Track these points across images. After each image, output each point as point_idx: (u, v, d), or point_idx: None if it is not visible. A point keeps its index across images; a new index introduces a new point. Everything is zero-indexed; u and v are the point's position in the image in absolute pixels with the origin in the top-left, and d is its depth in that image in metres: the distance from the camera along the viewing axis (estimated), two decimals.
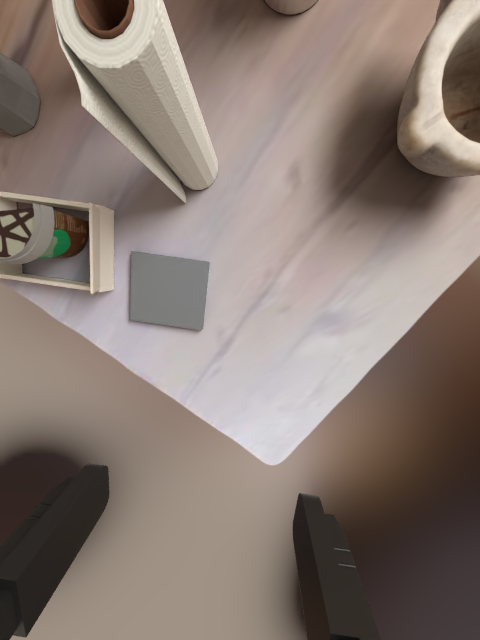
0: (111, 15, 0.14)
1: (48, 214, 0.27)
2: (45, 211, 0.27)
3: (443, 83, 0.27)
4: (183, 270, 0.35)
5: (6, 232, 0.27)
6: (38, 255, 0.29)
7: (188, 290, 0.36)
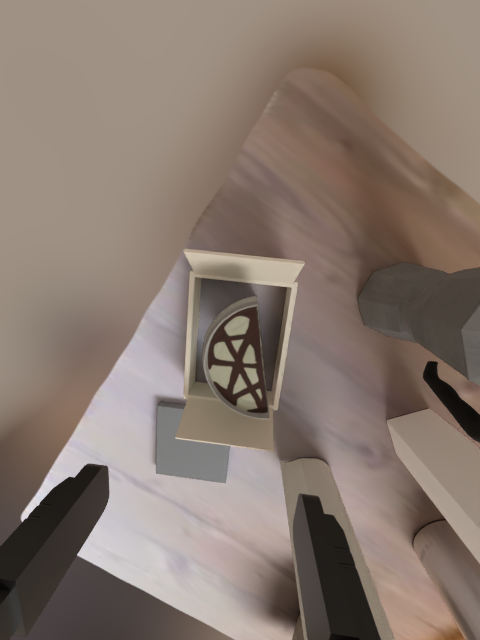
0: None
1: None
2: None
3: None
4: (216, 461, 0.34)
5: (238, 369, 0.22)
6: None
7: (196, 464, 0.35)
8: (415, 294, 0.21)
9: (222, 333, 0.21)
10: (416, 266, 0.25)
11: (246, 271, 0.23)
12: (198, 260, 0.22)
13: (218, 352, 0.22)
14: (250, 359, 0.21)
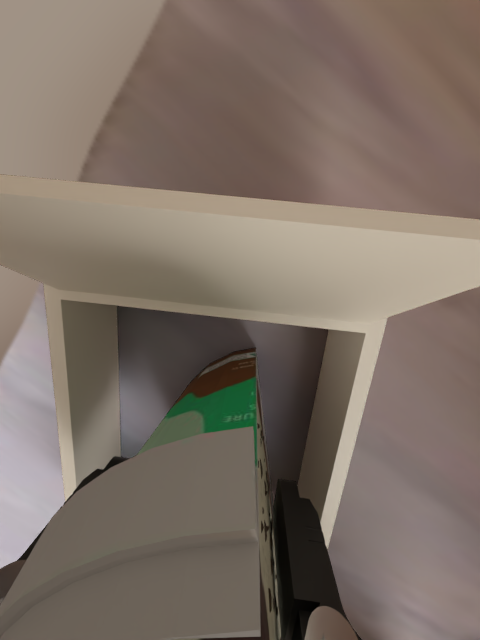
0: None
1: None
2: None
3: None
4: None
5: None
6: None
7: None
8: None
9: None
10: None
11: (211, 286, 0.06)
12: None
13: None
14: None
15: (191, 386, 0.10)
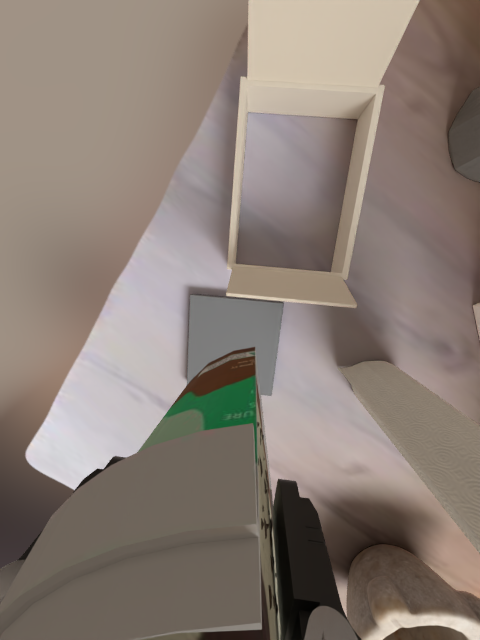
0: None
1: None
2: None
3: None
4: (260, 367, 0.28)
5: None
6: None
7: None
8: None
9: None
10: None
11: (324, 50, 0.17)
12: (263, 19, 0.16)
13: None
14: None
15: (191, 385, 0.10)
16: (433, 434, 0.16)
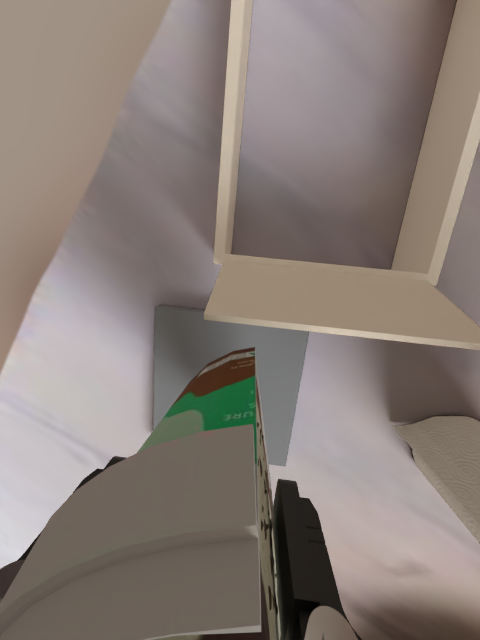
0: None
1: None
2: None
3: None
4: (269, 424, 0.18)
5: None
6: None
7: None
8: None
9: None
10: None
11: None
12: None
13: None
14: None
15: (190, 385, 0.10)
16: None
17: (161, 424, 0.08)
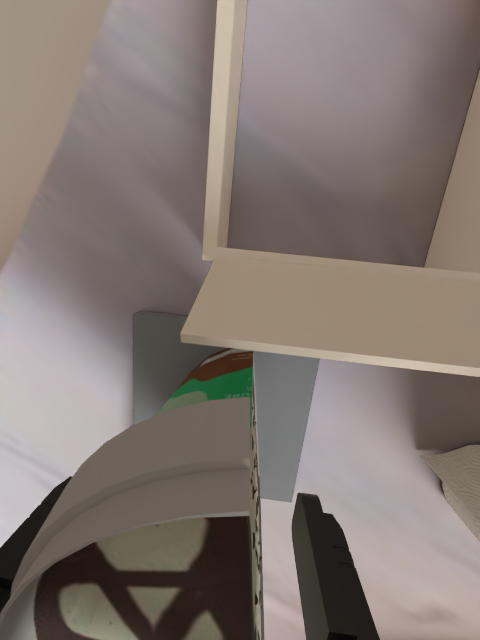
0: None
1: None
2: None
3: None
4: (272, 453, 0.15)
5: None
6: None
7: None
8: None
9: (89, 556, 0.05)
10: None
11: None
12: None
13: (80, 612, 0.05)
14: None
15: (193, 373, 0.11)
16: None
17: (168, 403, 0.09)
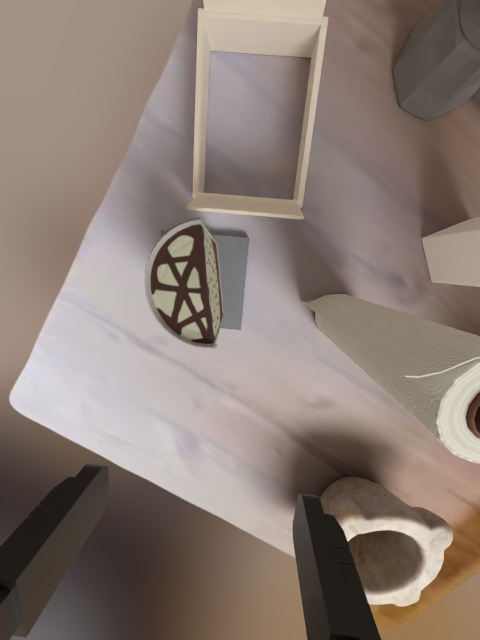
0: None
1: None
2: None
3: None
4: (229, 301, 0.30)
5: (183, 294, 0.21)
6: None
7: None
8: None
9: (166, 254, 0.20)
10: None
11: None
12: None
13: (162, 275, 0.21)
14: (195, 283, 0.21)
15: None
16: (364, 318, 0.19)
17: None
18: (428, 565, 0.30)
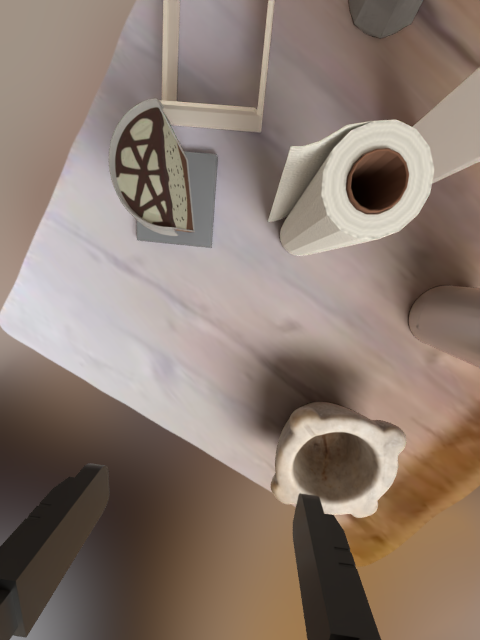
0: (380, 178, 0.14)
1: (167, 233, 0.25)
2: (169, 232, 0.25)
3: None
4: (199, 218, 0.32)
5: (144, 178, 0.23)
6: None
7: None
8: None
9: (128, 137, 0.23)
10: None
11: None
12: None
13: (125, 158, 0.23)
14: (154, 165, 0.23)
15: None
16: (302, 187, 0.21)
17: None
18: (383, 472, 0.31)
